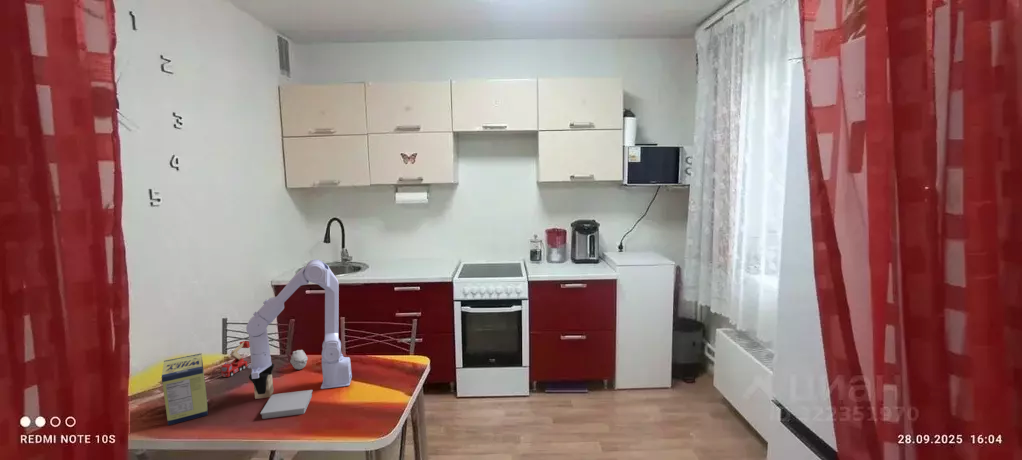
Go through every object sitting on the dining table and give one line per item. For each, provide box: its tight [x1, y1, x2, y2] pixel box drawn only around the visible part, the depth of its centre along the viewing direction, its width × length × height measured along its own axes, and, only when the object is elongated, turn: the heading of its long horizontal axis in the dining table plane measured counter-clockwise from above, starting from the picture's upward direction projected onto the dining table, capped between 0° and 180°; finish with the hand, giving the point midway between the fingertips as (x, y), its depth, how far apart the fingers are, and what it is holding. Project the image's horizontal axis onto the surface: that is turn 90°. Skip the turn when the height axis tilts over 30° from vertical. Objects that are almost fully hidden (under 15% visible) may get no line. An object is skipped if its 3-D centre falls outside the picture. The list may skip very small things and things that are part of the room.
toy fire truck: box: [221, 340, 250, 378], centre depth 181 cm, size 3×14×10 cm, turn 168°
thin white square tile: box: [260, 389, 313, 420], centre depth 152 cm, size 13×13×2 cm
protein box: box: [161, 353, 209, 426], centre depth 151 cm, size 10×16×16 cm
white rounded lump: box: [289, 349, 308, 370], centre depth 181 cm, size 6×7×7 cm
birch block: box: [253, 374, 274, 400], centre depth 161 cm, size 4×4×6 cm
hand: (264, 390), depth 161 cm, fingers closed on birch block, 4 cm apart
